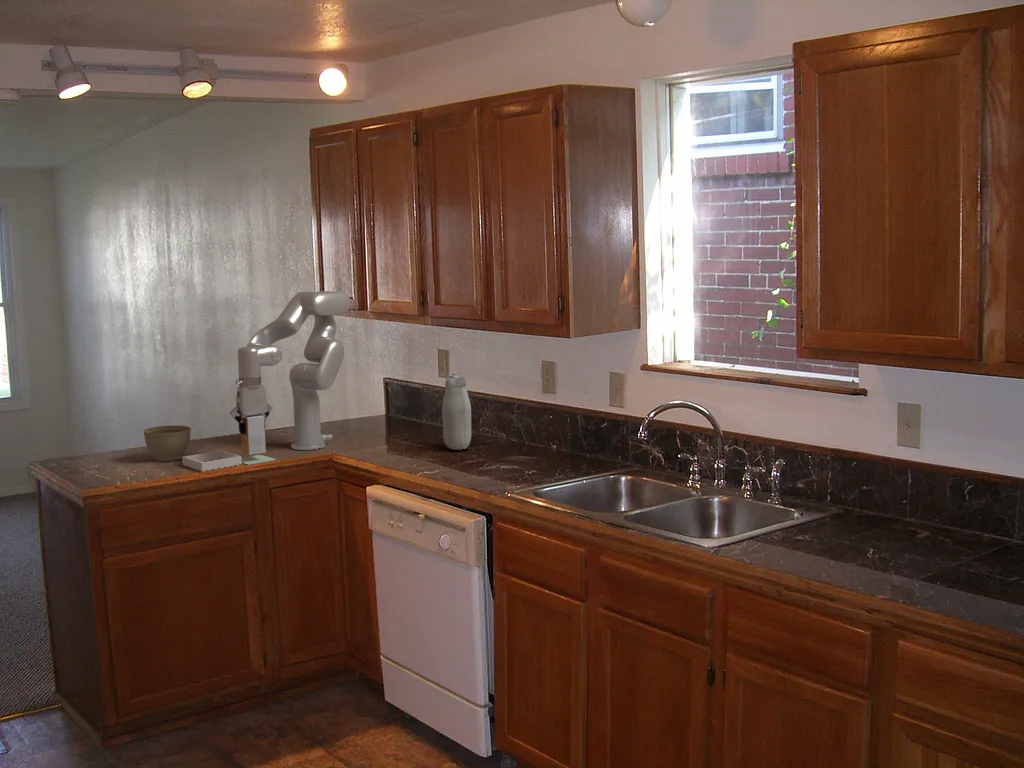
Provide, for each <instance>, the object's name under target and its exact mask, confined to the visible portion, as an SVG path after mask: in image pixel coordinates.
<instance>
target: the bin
mask: <svg viewBox="0 0 1024 768" xmlns="http://www.w3.org/2000/svg"><path fill="white" fill-rule="evenodd" d="M241 458H242V455H239V454H235V453H232V452H228V451H225V450H216V451H210V452H209V451H208V452H203V453H198V454H197V453H196V454H190V455H186V456H185V455H184V456H183V457H182V458H181V459H182V460H181V461H182V466H185V467H187V466H188V467H187V468H190V469H193V468H194V469H193V470H196V469H197V470H196V471H199V470H200V471H199V472H202V471H203V472H207V471H206V470H208V471H213V470H212V469H214V470H219V469H218V468H220V469H225V468H224V467H226V468H231V467H235V466H234V465H237V466H240V465H239V464H242V459H241ZM216 459H219V460H216ZM210 460H213V461H210ZM204 461H207V462H204ZM242 465H243V464H242ZM230 466H231V467H230Z"/></svg>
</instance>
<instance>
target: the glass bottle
mask: <svg viewBox="0 0 1024 768" xmlns="http://www.w3.org/2000/svg"><path fill="white" fill-rule="evenodd" d="M444 386H445V387H444V396H443V400H442V405H441V406H442V408H441V413H442V414H441V415H442V416H441V417H442V431H443V432H442V433H443V434H442V436H443V441H444V445H445V446H446V447H447V448H448V449H450V450H451V449H453V450H452V451H455V450H460V451H463V450H462V449H464V450H466V449H467V448H468V447H469V446H470V444H471V440H472V406H471V405H472V404H471V400H470V397H469V394H468V389H467V381H466V378H465V376H464V375H462V374H460V373H451V374H449V375H447V376H446V379H445V384H444Z"/></svg>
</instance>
